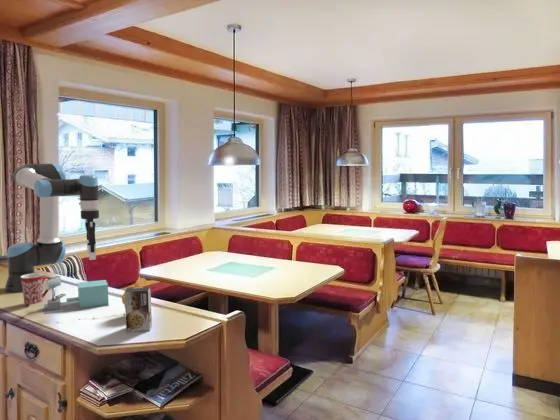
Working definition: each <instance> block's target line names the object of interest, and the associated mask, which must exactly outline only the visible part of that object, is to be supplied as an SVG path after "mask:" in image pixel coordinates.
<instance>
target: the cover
mask: <svg viewBox="0 0 560 420" xmlns="http://www.w3.org/2000/svg"><path fill="white" fill-rule="evenodd" d="M77 292H78V293H77V294H78V296H77V297H67V298H66V302H71V301H79V308H84V307H92V306H100V305H108V304H109V284H108V282H107V280H106V279H101V280H100V279H99V280H90V281H83V282H77Z"/></svg>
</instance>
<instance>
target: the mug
mask: <svg viewBox="0 0 560 420" xmlns="http://www.w3.org/2000/svg"><path fill="white" fill-rule="evenodd" d="M43 276H44V274H43V273H38V272H37V273H36V272H35V273H32V274H26V275H23V276H21V281H22V288H23V292H22V295H23V302H24V306H25V307H30V305H33V304H39V303H42V302H43V299H44V297H45V296H46V295H47V294H48V292H49V290H44V292H43V283H45V280H48V279H50V278H51V277H49V276H44V277H43Z"/></svg>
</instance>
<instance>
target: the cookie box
mask: <svg viewBox="0 0 560 420" xmlns="http://www.w3.org/2000/svg"><path fill="white" fill-rule="evenodd" d="M151 288H152V287H151V286H128V287H127V288H126V289H125V290H124V294H125V306H124V309H125V332H126V333H131V332H147V331H148V332H149V331H150V330H151V329H152V326H153V320H152V319H153V317H152V293H151V291H152V289H151Z"/></svg>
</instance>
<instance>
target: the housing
mask: <svg viewBox="0 0 560 420" xmlns="http://www.w3.org/2000/svg"><path fill="white" fill-rule="evenodd" d="M46 302H47V303H44V306H43V315H48V314H49V315H51V314H57V313H65V312H73V311H81V310H88V309H97V308H104V307H109V306H110V305H109V304H108V305H100V306H92V307H84V308H79V301H71V302H67V301H61V298H59V299H57V300H52V298H51V299H47V301H46Z"/></svg>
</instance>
